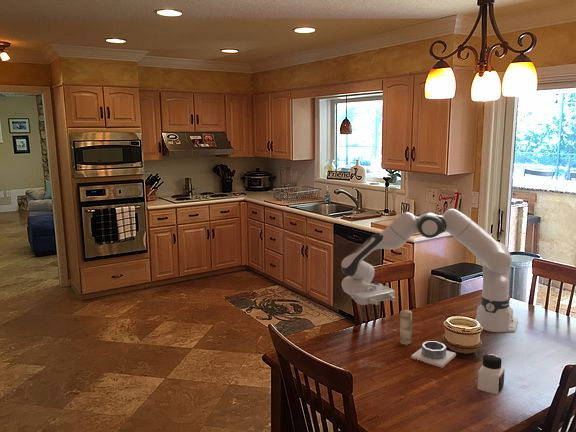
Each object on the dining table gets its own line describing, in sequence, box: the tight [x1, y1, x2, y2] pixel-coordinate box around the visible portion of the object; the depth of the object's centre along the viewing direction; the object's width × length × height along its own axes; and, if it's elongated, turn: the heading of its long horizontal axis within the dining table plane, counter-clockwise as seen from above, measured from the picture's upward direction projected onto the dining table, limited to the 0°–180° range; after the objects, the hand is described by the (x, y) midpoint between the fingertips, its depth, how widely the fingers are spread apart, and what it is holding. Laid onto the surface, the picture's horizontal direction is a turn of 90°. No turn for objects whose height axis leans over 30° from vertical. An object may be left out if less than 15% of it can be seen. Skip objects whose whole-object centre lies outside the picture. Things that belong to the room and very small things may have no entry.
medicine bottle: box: [477, 353, 505, 396], centre depth 169 cm, size 7×7×12 cm
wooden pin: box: [399, 309, 413, 346], centre depth 207 cm, size 5×5×14 cm
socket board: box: [411, 340, 457, 369], centre depth 194 cm, size 13×13×5 cm
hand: (386, 301), depth 216 cm, fingers open, 8 cm apart
